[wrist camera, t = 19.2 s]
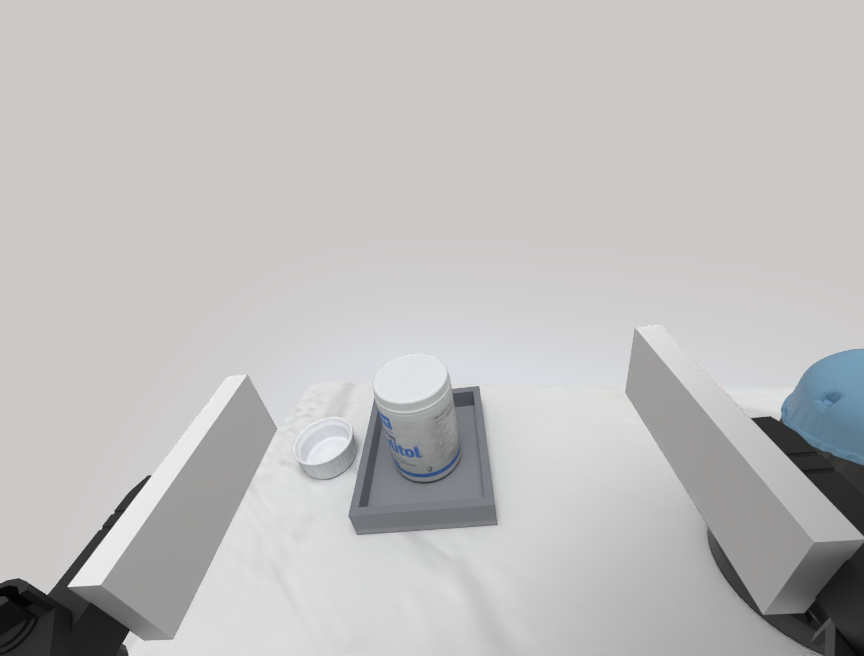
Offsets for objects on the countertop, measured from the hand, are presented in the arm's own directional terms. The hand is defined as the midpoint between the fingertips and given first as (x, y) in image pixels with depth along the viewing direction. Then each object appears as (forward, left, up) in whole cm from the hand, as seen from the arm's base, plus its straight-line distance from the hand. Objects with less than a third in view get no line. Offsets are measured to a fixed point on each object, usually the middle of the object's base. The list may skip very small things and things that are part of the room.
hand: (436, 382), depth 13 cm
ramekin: (+22, -27, -35) cm, 49 cm away
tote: (+7, -25, -35) cm, 43 cm away
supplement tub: (+7, -25, -34) cm, 43 cm away
